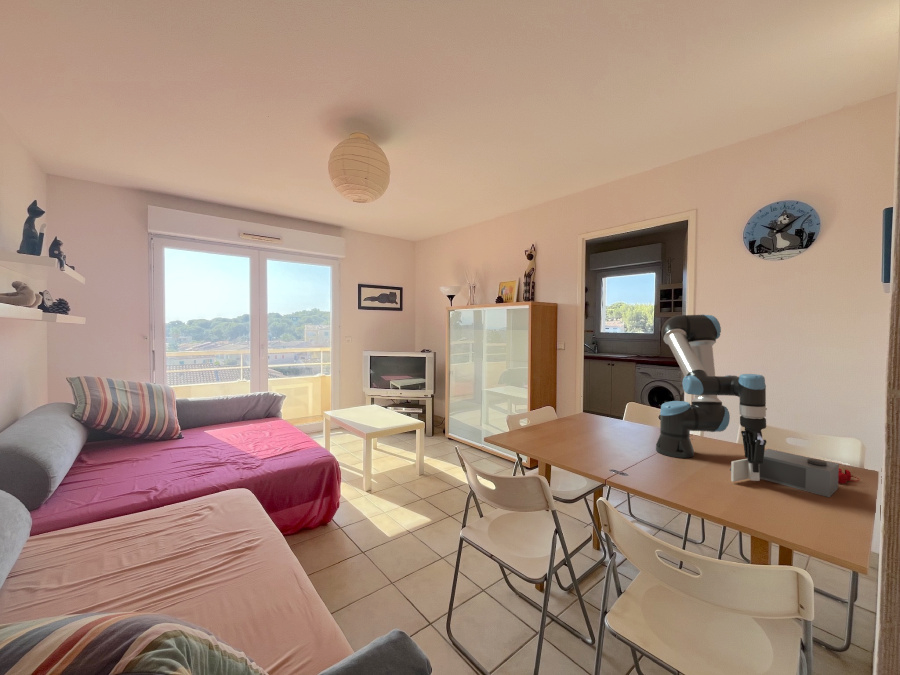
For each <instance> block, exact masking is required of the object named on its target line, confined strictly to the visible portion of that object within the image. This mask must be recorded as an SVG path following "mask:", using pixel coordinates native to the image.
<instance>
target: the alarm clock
mask: <svg viewBox="0 0 900 675" xmlns="http://www.w3.org/2000/svg"><path fill="white" fill-rule="evenodd" d="M852 478H853V479H852ZM854 478H855V479H857V480H854ZM860 479H861V478H859V477H856V476H854V475H852V473H851V471H850V470H849V469H844V472H843V470H842V469H841V468H840V467H839V473H838V485H845V484H846V483H848V482H849V481H851V482H859V481H860Z"/></svg>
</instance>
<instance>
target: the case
mask: <svg viewBox="0 0 900 675" xmlns="http://www.w3.org/2000/svg"><path fill="white" fill-rule="evenodd" d="M839 466H840V465H839V463H836V462H832V461H826V460H824V459H823V460H822V459H818V458H814V457H809V456H803V455H799V454H793V453H790V452H785V451H780V450H777V449H776V450H775V449H772V448H767V449H765V450H764V458H763V464H759V478H760V480H764V481H766V482H767V481H768V482H772V483H775V484H779V485H782V486H786V487H790V488H794V489H797V490H800V491H805V492H808V493H812V494H815V495H819V496H822V497H826V498H830V497H831V496H833V494H834V493H836V491H837V490H838V489H839V483H838V473H839V468H840V467H839Z"/></svg>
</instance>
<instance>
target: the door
mask: <svg viewBox="0 0 900 675" xmlns="http://www.w3.org/2000/svg"><path fill="white" fill-rule="evenodd" d="M730 463H731V464H730V468H729V471H730V481H731V482H732V483H733V482H738V481H742V480H750V479H749V461H748V459H747V458H743V459H738V460H732V461H731V462H730Z"/></svg>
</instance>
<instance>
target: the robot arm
mask: <svg viewBox="0 0 900 675" xmlns="http://www.w3.org/2000/svg"><path fill="white" fill-rule="evenodd" d="M721 331H722V326H721V324H720V321H719V319H718V318H717V317H716V316H714V315H711V314H710V315H709V314H686V315H685V314H677V315H674V316H671V317H669V318H668V319H667V320H665V322H664V323H663V326H662V327H661V338H662V340H663V342H664V343H665V344H666V345H668V346H669V348H670V350H671V352H672V355H673V356H674V358H675V360H676V362H677V364H678V365H679V368H680V370H681V372H682V374H683V376H684V377H683V379H682V389H683V391H684V393H686V394H687V395H694V398H693V399H692V400H691V403H690V402H688V401H685V400H684V401H683V400H681V401H680V400H672V401H671V400H670V401H666V402H664V403H662V404H661V406H660V411H659V415H660V425H659V426H660V428H659V429H660V430H659V431H660V432H659V437H658V438H657V442H656V444H655V451H656V452H658V453H659V454H661V455H664V456H666V457H667V456H668V457H671V458H679V459H686V458H687V459H688V458H689V459H690V458H693V457H694V456H695V449H694V447H693V443H692V441H691V438H690V432H691V431H692V432H709V433H715V432H716V433H720V432H724V431H725V430H727V428H728V426H729V425H730V421H731V420H730V419H731V418H730V416H731V415H730V414H731V413H730V411H729V409H728V407H727V406H725V405H723V402H722V400H720V399H719V398H718V396H730V397H731V396H733V397H738V398H739V415H740V416H739V425H740V427H742V428H744V430H741V432H740V433H741V436H742V444H743V451H744V457H745V459H748V461H749V479H748V480H750V481H753V482H756V481H757V482H758V481H759V482H760V480H761V479H760V478H759V464H763V458H764V451H765V450H766V448H765V447H766V444H767V440H766V439H763V432H762V430H764V429H767V418H765V417H767V410H768V408H767V407H766V406H767V405H766V403H767V400H766V398H767V396H766V395H767V394H766V393H767V392H766V390H767V388H766V387H767V385H766V378H765V376H764V375H763V374H756V373H741V374H740V375H739V376H737V375H728V374H727V375H725V376H721V375H720V376H719V375H718V376H717V375H716V371H715V370H716V369H715V360H714V358H715V357H714V351H713V350H714V349H713V346H714V345H715V344H716V343H717V339H719V338H720V337H721V333H722V332H721Z"/></svg>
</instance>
